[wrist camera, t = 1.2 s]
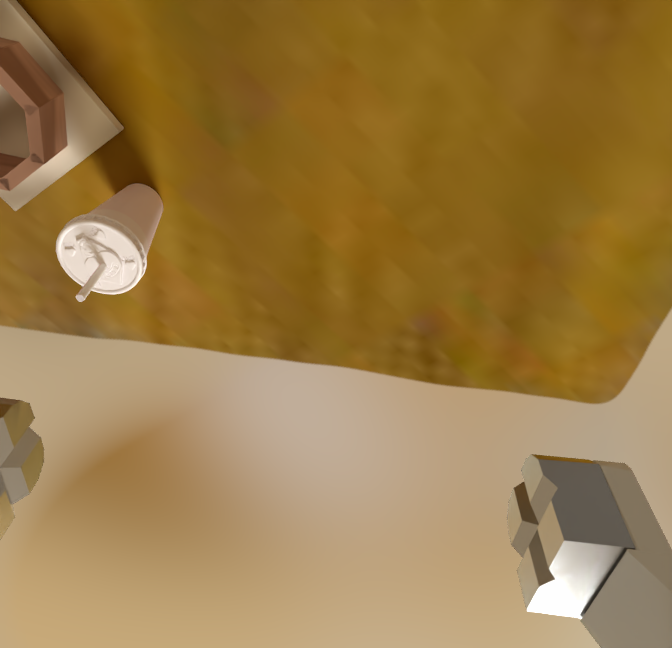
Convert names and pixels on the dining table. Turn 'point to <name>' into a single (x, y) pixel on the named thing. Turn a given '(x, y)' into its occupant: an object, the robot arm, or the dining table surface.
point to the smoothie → (111, 241)
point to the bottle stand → (42, 110)
